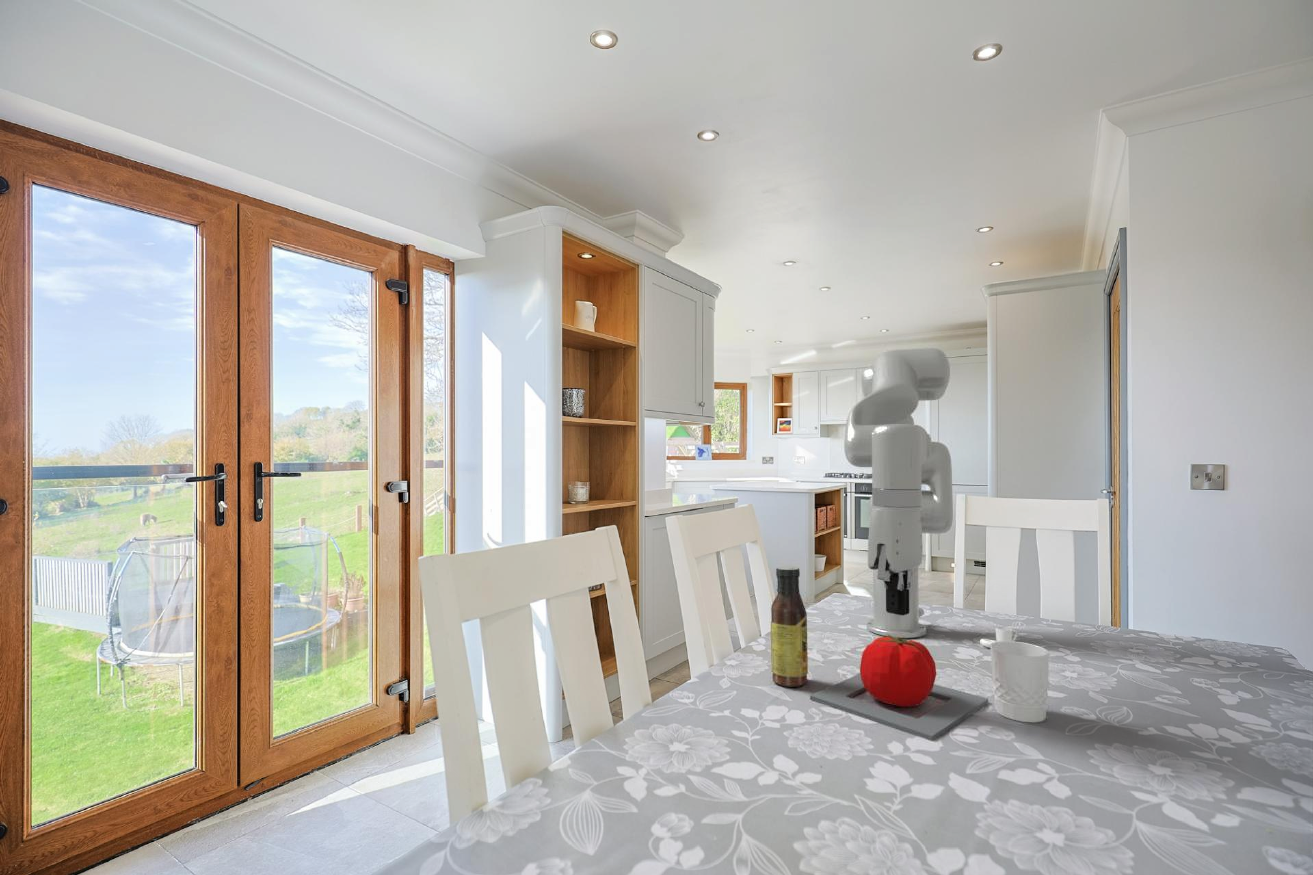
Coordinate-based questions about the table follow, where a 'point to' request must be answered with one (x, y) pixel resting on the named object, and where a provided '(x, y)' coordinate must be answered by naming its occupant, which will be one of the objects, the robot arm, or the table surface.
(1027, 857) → the table surface
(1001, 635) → the teacup and saucer
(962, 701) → the gray picture frame
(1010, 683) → the white cup
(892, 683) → the tomato
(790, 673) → the sauce bottle
